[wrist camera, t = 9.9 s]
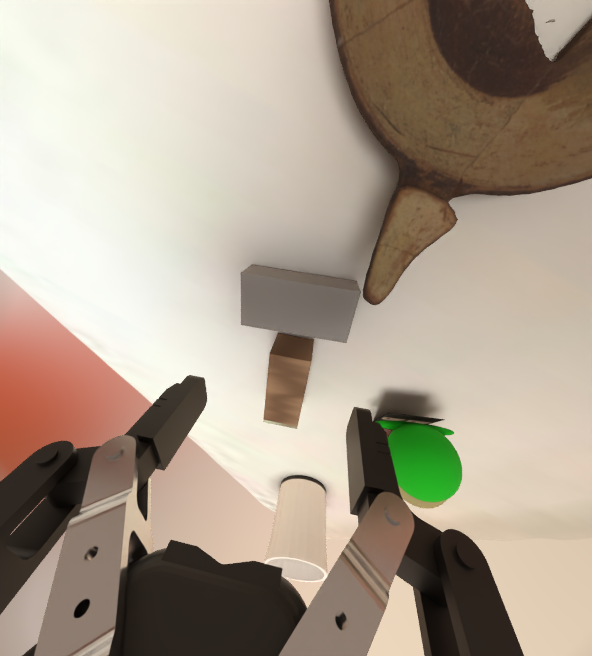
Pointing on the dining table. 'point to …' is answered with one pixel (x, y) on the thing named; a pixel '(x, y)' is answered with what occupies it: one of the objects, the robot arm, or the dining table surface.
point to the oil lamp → (461, 110)
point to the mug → (300, 530)
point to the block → (287, 379)
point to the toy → (422, 459)
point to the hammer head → (298, 302)
